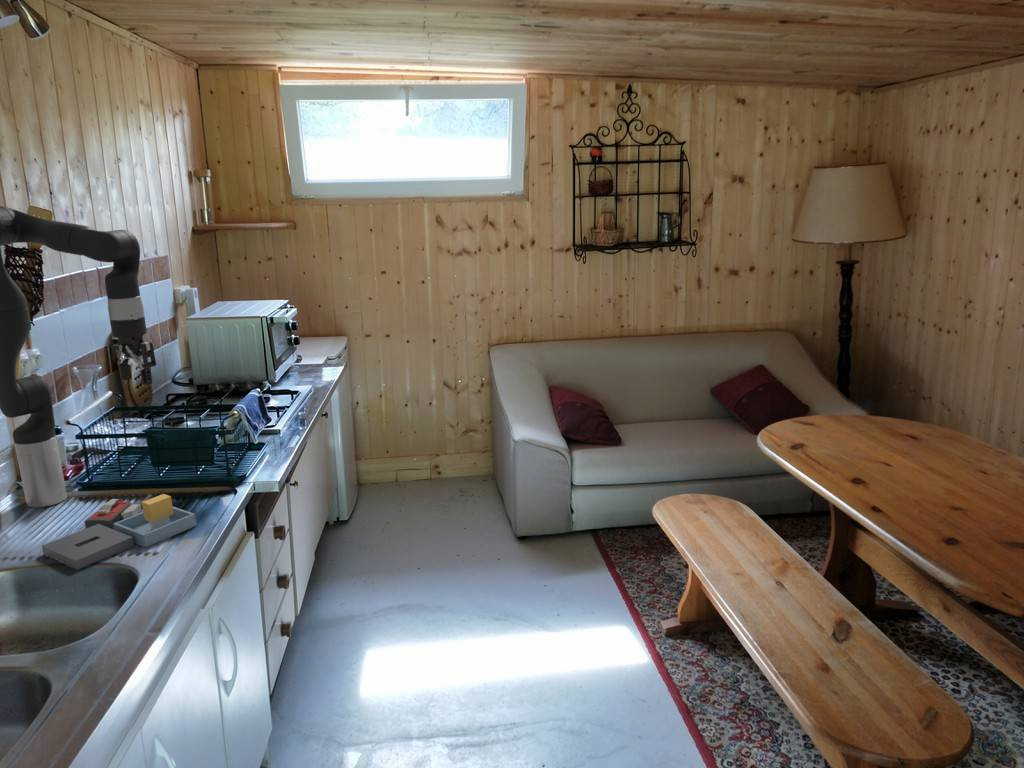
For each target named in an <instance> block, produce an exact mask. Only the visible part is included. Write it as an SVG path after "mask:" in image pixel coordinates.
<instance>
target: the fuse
mask: <svg viewBox="0 0 1024 768" xmlns="http://www.w3.org/2000/svg"><path fill="white" fill-rule="evenodd" d="M172 506H173V501H172V496H171V495H168V494H165V493H162V494H160V495H157V496H155V497H154V496H153V497H151V498H150V499H149V500H146V501H143V502H142V507H141V508H142V512H143V513H144V519H145V520H146V521H149V522H150V526H151V530H155V529H157V528H160V527H162V526H164V525H167V524H169V523H170V518H169V516H170V515H172V514H174V513H173V507H174V506H173V507H172Z"/></svg>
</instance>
